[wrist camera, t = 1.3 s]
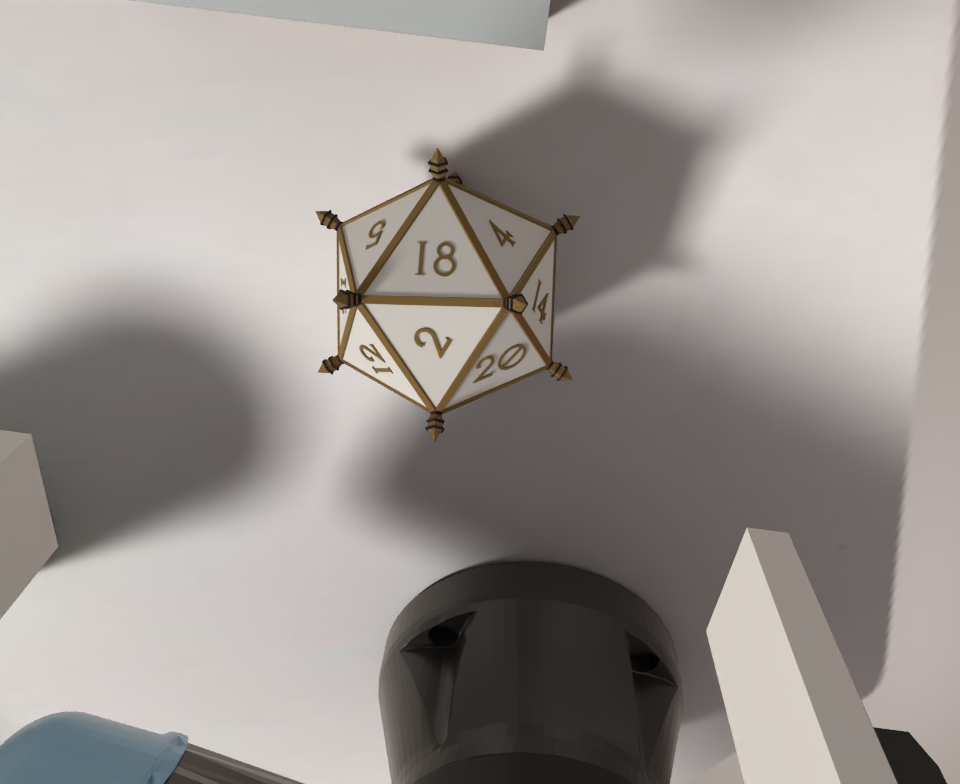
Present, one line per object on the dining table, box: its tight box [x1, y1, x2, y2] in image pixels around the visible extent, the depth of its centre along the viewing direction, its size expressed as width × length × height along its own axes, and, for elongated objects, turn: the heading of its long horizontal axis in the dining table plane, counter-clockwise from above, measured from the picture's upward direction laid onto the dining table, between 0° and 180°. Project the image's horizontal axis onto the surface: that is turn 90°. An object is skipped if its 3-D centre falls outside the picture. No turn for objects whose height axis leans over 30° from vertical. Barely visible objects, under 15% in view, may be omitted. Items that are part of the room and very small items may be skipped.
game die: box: [316, 148, 580, 442], centre depth 24 cm, size 9×8×10 cm
